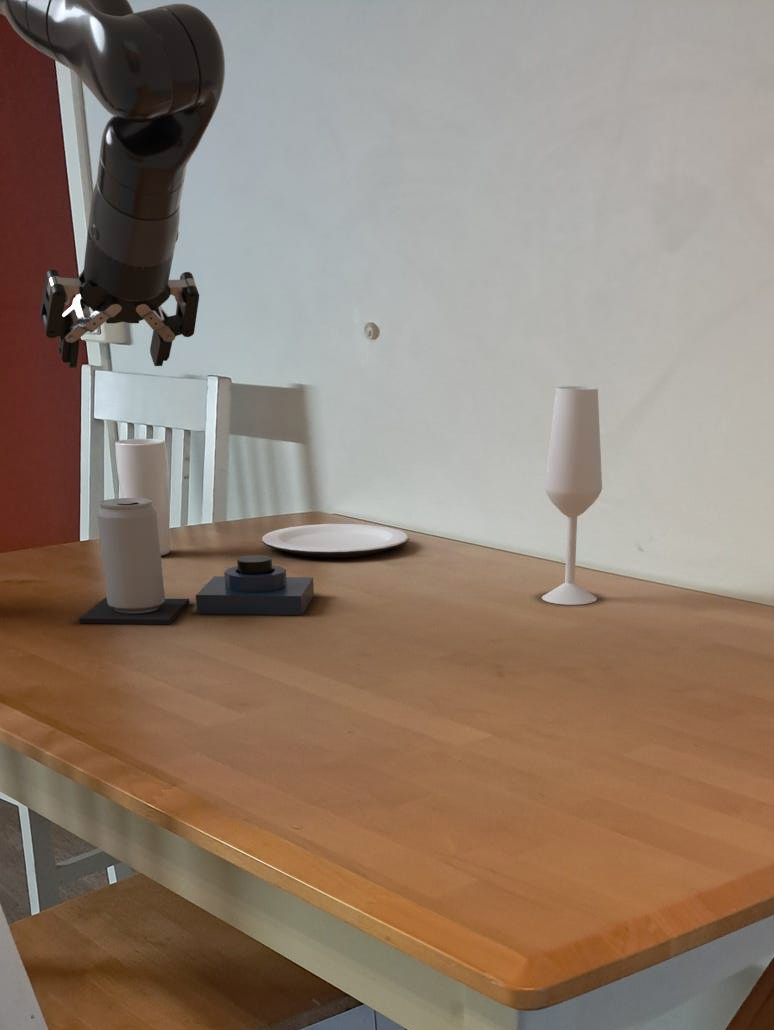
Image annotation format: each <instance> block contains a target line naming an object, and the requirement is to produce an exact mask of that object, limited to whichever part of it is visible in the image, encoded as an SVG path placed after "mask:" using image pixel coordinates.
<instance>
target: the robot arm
mask: <svg viewBox="0 0 774 1030" xmlns="http://www.w3.org/2000/svg"><path fill="white" fill-rule="evenodd" d="M0 15H3V16H5V18H6V19H7V21H8V23H9V24H10V25H11V27H12V30H14V31H15V32H16V33H17V35H19V36H20V37H21V39H23V40H24V41H25V42H26V43H27V44H29V45H30V46H31V47H33V48H34V49H36V50H37V51H38V52H40V53H42V54H43V55H45V56H47V57H49V58H50V59H52V60H54V61H56V62H57V63H59V64H61V65H63V66H65V67H66V68H68V69H70V70H72V71H73V72H74V73H75V74H76V75H77V77H78V78H79V79H80V80H81V82H82V83H83V84H84V85H85V86H86V87H87V89H88V90H89V91H90V93H92V94H93V96H94V97H95V98H96V99H97V101H98V102H99V103H100V104H101V106H102V107H103V109H105V110H106V111H107V112H108V113H109V114H111V116H112V117H110V118H109V120H108V121H107V122H106V125H105V127H104V129H103V132H102V136H101V142H100V149H99V159H98V165H97V166H98V167H97V176H96V181H95V185H94V188H93V192H92V195H91V200H90V208H89V209H90V210H89V217H88V225H87V226H88V227H87V235H86V244H85V253H84V263H83V269H82V271H81V273H80V274H79V275H78V276H77V278H75V277H61V272H59V270H57V269H50V270H48V271H47V272H46V275H45V281H44V287H43V292H42V299H41V304H40V312H39V315H40V318H41V320H42V323H43V326H44V332H45V335H46V337H47V338H50V339H55V338H59V339H58V351H59V354H60V358H61V360H62V362H63V363H66V364H67V367H68V369H75V368H78V367H77V366H78V359H79V351H80V338H82V337H83V336H84V335H85V334H86V333H88V332H89V333H94V332H95V331H96V330H97V329H99V328H100V327H101V326H102V325H103V324H104V323H106V324H119V323H128V324H140V322H141V321H145V322H146V323H147V325H148V326H149V327H150V329H152V336H151V341H150V347H149V354H150V356H151V360H152V363H153V366H154V367H163V364H164V362H167V361H168V360H169V358H170V355H171V351H172V346H173V341H175V339H176V337H178V336H181V335H182V337H185V338H191V337H193V336H194V335H195V330H196V322H197V316H198V309H199V301H200V293H199V290H198V287H197V285H196V281H195V278H194V275H193V274H192V273H191V272H190V271H185V272H182V273H181V274H180V275H179V279H170V275H171V271H172V270H171V269H172V265H173V258H174V255H175V250H176V249H175V248H176V243H177V241H178V239H179V228H180V216H181V215H180V212H181V211H180V210H181V200H182V196H183V195H182V194H183V190H184V184H185V179H186V178H185V177H186V173H187V167H188V164H189V162H190V160H191V159H192V157H193V155H194V154H195V152H196V150H197V149H198V147H199V145H200V143H201V141H202V139H203V137H204V135H205V134H206V133H205V132H206V131H207V129H208V127H209V125H210V123H211V121H212V119H213V116H214V115H215V113H216V110H217V108H218V105H219V103H220V100H221V98H222V94H223V90H224V85H225V78H226V59H225V51H224V47H223V44H222V43H223V42H222V40H221V37H220V34H219V32H218V30H217V28H216V26H215V25H214V23H213V21H212V20H211V19H210V18H209V16H208V15H207V14H206V13H204V12H203V11H202V10H201V9H200V8H198V7H196V6H194V5H192V4H187V3H171V4H167V5H162V6H158V7H155V8H150V9H146V10H142V11H141V10H140V11H138V12H134V9H133V7H132V6H131V4H130V2H129V0H0ZM75 295H76V296H75ZM74 296H75V297H74ZM170 296H173V297H174V299H175V302H176V308H175V314H173V315H170V316H169V315H168V313H167V312H166V310H165V309H164V308H163V307H162V305H163V304H164V303H166V301H168V300H169V299H170ZM73 297H74V298H73ZM72 298H73V300H72ZM71 300H72V304H71V306H69V305H70V301H71ZM65 306H69V307H68V308H67V309H66V310H65V311H64V309H65ZM91 311H92V313H91Z"/></svg>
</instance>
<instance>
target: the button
mask: <svg viewBox="0 0 774 1030" xmlns="http://www.w3.org/2000/svg"><path fill="white" fill-rule="evenodd" d="M236 565H237V567H238V573H239V574H245V575H259V574H268V573H272V572H273V571H272V565H273V558H272V557H270V556H268V555H245V556H240V557H238V558H237V559H236Z"/></svg>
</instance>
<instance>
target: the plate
mask: <svg viewBox="0 0 774 1030" xmlns="http://www.w3.org/2000/svg"><path fill="white" fill-rule="evenodd" d="M409 539H410V537H409V535H408V533H406V532H404V531H402V530H400V529H396V528H392V527H389V526H388V527H387V526H381V525H375V524H374V525H373V524H361V523H323V524H320V523H319V524H305V525H298V526H290V527H285V528H280V529H276V530H272V531H270V532H268V533H266V534H264V535H263V536H262V539H261V543H263V544H264V545H266V546H267V547H268V548H272V549H275V550H279V551H283V552H286V553H289V554H292V555H298V556H303V557H312V558H326V559H328V558H329V559H330V558H335V559H336V558H355V557H363V556H370V555H374V554H375V555H376V554H379V553H382V552H385V551H387V550H390V549H394V548H397V547H398V548H399V547H401V546H403V545H405V544H406V543H407V542H408V541H409Z"/></svg>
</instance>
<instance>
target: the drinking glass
mask: <svg viewBox="0 0 774 1030" xmlns="http://www.w3.org/2000/svg"><path fill="white" fill-rule="evenodd" d="M114 450H115V451H114V452H115V463H116V471H117V472H116V473H117V479H118V482H119V489H120V494H121V498H143V499H149V500H152V504H151V505H152V507H153V508H154V509H155V511H156V513H157V523H158V533H159V544H160V554H161V557H163V556H166V555H168V554H169V553H170V552H171V538H170V472H169V471H170V470H169V459H168V458H169V457H168V450H167V443H166V441H165V439H159V438H129V439H121V440H117V441H115V442H114Z"/></svg>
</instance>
